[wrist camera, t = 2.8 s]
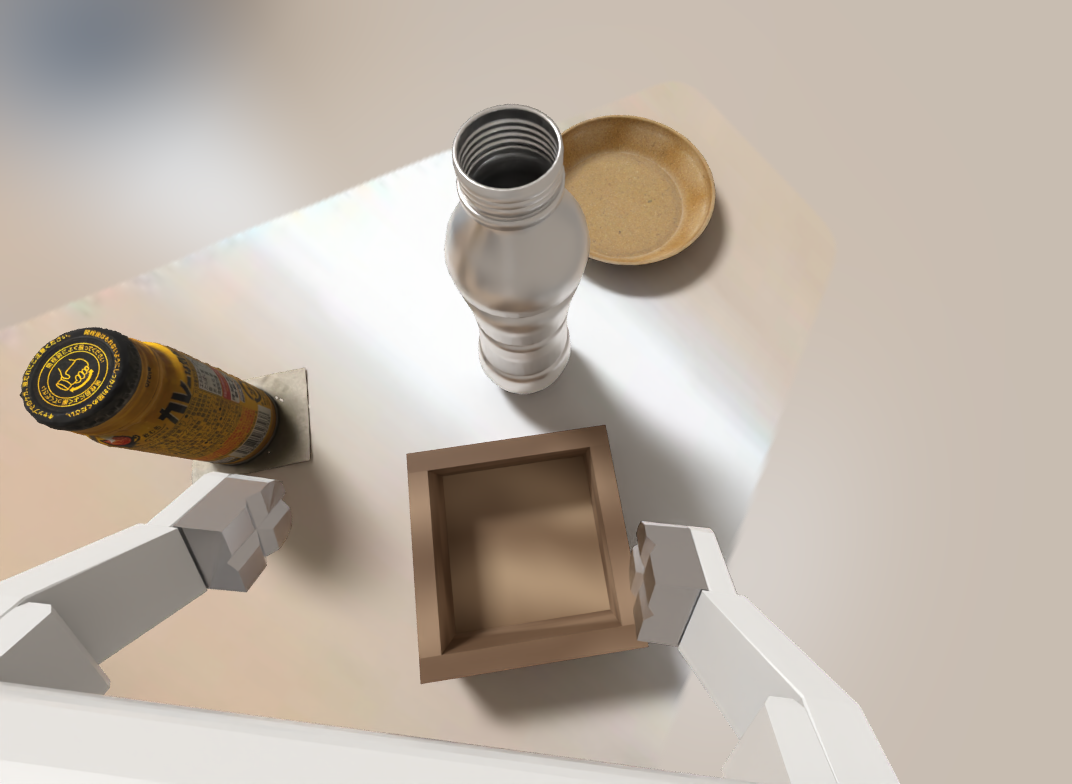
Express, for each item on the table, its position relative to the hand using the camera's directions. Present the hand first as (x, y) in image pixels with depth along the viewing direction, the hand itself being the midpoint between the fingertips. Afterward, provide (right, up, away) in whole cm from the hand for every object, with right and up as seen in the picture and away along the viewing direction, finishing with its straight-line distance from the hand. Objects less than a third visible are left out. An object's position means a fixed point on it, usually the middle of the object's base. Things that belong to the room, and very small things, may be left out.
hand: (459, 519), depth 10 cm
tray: (+1, -7, +20) cm, 21 cm away
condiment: (-19, 0, +22) cm, 30 cm away
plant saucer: (+9, +19, +28) cm, 35 cm away
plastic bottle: (+1, +5, +24) cm, 24 cm away
